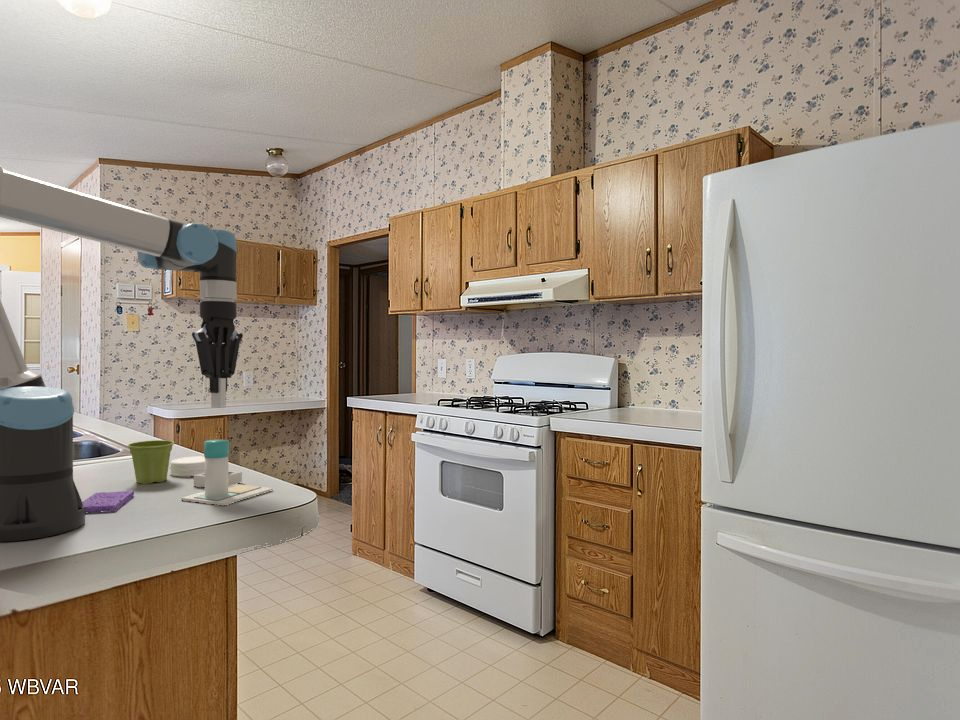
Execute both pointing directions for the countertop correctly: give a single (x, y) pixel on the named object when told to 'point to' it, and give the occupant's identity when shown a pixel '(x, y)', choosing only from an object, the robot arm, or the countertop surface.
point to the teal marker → (216, 468)
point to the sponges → (107, 501)
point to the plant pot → (151, 460)
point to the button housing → (232, 478)
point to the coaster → (187, 466)
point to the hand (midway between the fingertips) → (218, 407)
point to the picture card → (234, 494)
